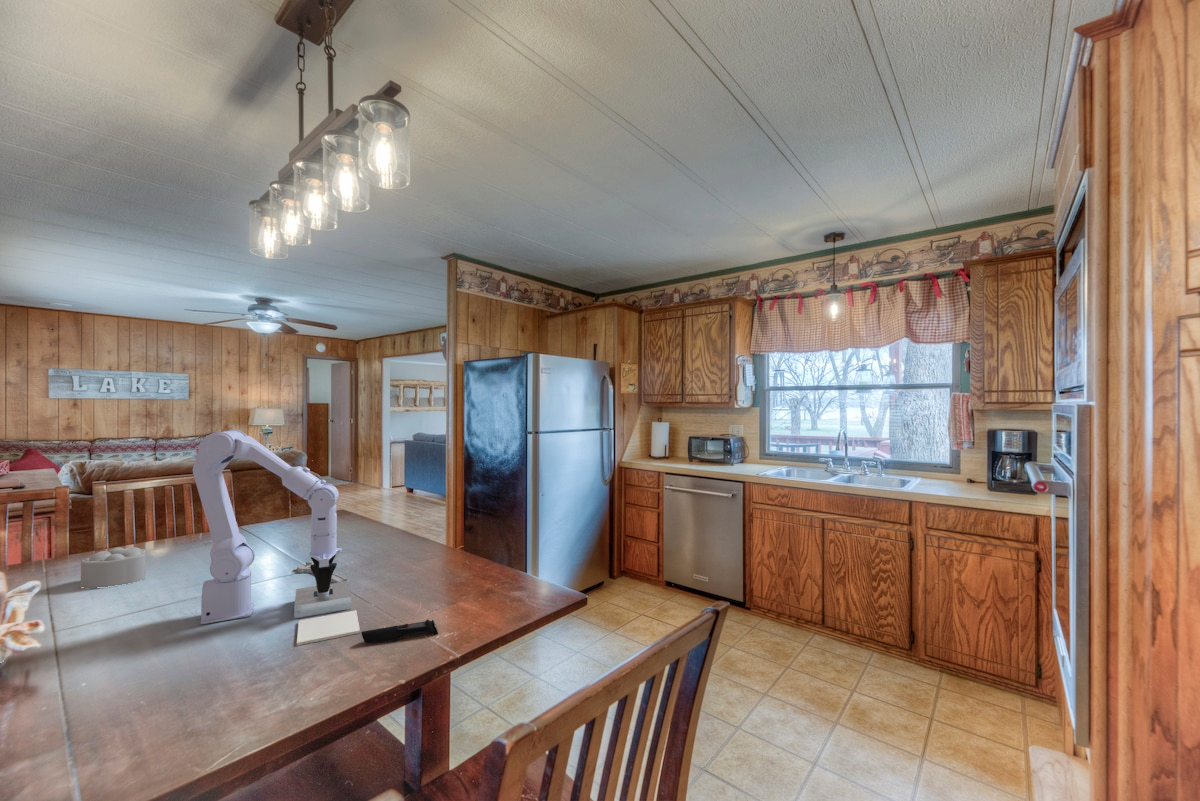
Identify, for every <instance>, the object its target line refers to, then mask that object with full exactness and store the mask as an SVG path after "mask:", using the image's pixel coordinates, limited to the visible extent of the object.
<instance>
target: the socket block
mask: <svg viewBox="0 0 1200 801" xmlns="http://www.w3.org/2000/svg"><path fill="white" fill-rule="evenodd" d="M295 589H296V590H295V598H294V607H293V608H294V610H293V611H294V614H293V619H294V620H297V619H302V618H308V617H313V616H319V615H325V614H329V613H330V614H332V613H334V612H335V613H336V612H340V611H347V610H352V594H351V587H350V581H346V582H340V583H333V582H332V583H330V588H329V595H325V596H319V597H317V590H316V589H317V585H315V586H307V587H301V588H300V587H299V588H295Z"/></svg>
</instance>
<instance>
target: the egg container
mask: <svg viewBox="0 0 1200 801" xmlns="http://www.w3.org/2000/svg"><path fill="white" fill-rule="evenodd" d="M146 552H147V551H146V549H144V548H140V547H136V546H133V547H132V546H131V547H127V548H123V547H114V548H111V549H109V550H102V551H98V552H95V553H94V554H93V555H91V557H86V558H84V559H82V560H81V561H80V588H81V587H84V588H97V587H108V586H115V585H121V586H123V585H122V584H126V585H129V584H128V583H131V584H134V583H133V582H136V583H138V582H137V581H139V582H141V581H140V580H142V581H144V580H146V565H147V564H146V560H147V558H146V557H147V555H146ZM143 579H144V580H143ZM115 587H116V586H115Z"/></svg>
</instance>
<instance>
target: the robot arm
mask: <svg viewBox="0 0 1200 801" xmlns="http://www.w3.org/2000/svg"><path fill="white" fill-rule="evenodd" d="M197 446H198V451H197V455H196V458H195V461H194V463H193V466H192V474H193V479H194V481H195V485H196V488H197V492H198V496H199V498H200V502H201V505H202V508H203V512H204V515H205V518H206V522H207V525H208V529H209V532H210V536H211V540H212V545H211V549H210V552H209V553H210V554H209V555H210V556H209V557H210V559H211V562H210V566H209V574H210V575H211V577H212V579H207V580H205V581H203V583H202V588H201V603H200V604H201V609H200V610H201V613H200V614H201V615H200V618H201V620H200V625H206V624H211V623H218V622H225V621H230V620H236V619H241V618H248V617H251V616H252V614H253V610H254V607H255V602H252V570H251V569H250V566H251V565H252V564H253V563H254V560H255V557H256V554H255V553H256V552H255V550H254V549H253V548H252V546H250V545H249V543H248V541H247V538H246V537H245V536H244V535H243V534H242V533H240V530H239V527H238V526H239V525H238V522H237V520H236V516H235V512H234V509H233V505H232V502H231V499H230V494H229V492H228V488H227V484H226V480H225V478H224V474H223V471H224V470H225V468H226V467H227V466H228V465H229V464H230V462H231V461H232V460H233V459H235V460H236V459H237V460H250V461H253V462H254V463H256V464H258V465H260V466H262V467H263V468H265V469H267V470H268V471H270V472H272V473H273V474H275V475H276V476H278V477H280V479H281V483H282V486H283V487H285V488H286V489H288V490H290V491H291V492H292V493H294V494H295V495H297V496H298V497H300V498H302V499H303V500H305V501H307V503H308V506H309V508H311V516H310V552H309V557H310V559H311V561H313V563H314V564H313V565H311V567H310V568H311V571H312V572H313V573H312V574H313V576H314V578H315V583H316V586H317V589H318V592H319V593H324V592H328V591H329V587H330V584H331V583H332V582H331V577H332V574H333V573H334V572H335V570H336V569H337V565H338V563H337V562H334V560H335V557H336V555H337V554H339V553H342V552H343V550H342V547H337V542H338V541H337V538H338V537H337V536H338V535H337V534H338V533H337V531H338V530H337V529H338V527H337V526H338V516H337V515H338V514H337V504H336V503H337V501H338V499H339V496H340V492H339V489H338V488H337V487H336V486H335V485H334V484H333V483H330V482H329V483H328V482H327V480H325V479H320V478H319V477H317V476H315V475H314V474H313V473H311V472H310V471H311V469H310V468H308V467H306V466H305V467H302V466H299V465H298V466H291V465H290V464H289V463H287V462H286V461H285V460H283V459H282V458H280V457H279V456H278V455H276V454H275V453H274V452H273V451H271V450H270V449H268V448H267V447H266V446H264V445H263V444H262V443H260V442H259V441H258V440H256V438H254V437H252V436H251V435H247V434H246V433H245V432H244V431H242V430H239V429H229V430H225V431H214V432H212V433H210V434H208V435H207V436H206V437H204V439H203V440H202V441H201V442H200V443H199V444H198V445H197Z"/></svg>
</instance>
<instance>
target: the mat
mask: <svg viewBox="0 0 1200 801" xmlns="http://www.w3.org/2000/svg"><path fill="white" fill-rule="evenodd" d="M358 617H359V616H358V612H357V610H356V609H355V610H350V611H344V612H340V613H333V614H332V613H331V614H327V615H324V616H316V617H312V618H306V619H299V620H298V624H297V625H298V626H297V635H296V636H297V637H296V646H297V647H298V646H302V645H308V644H312V643H316V642H323V641H327V640H332V639H338V638H341V637H347V636H353V635H357V634H360V633H361V629H360V623H359V618H358Z"/></svg>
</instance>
